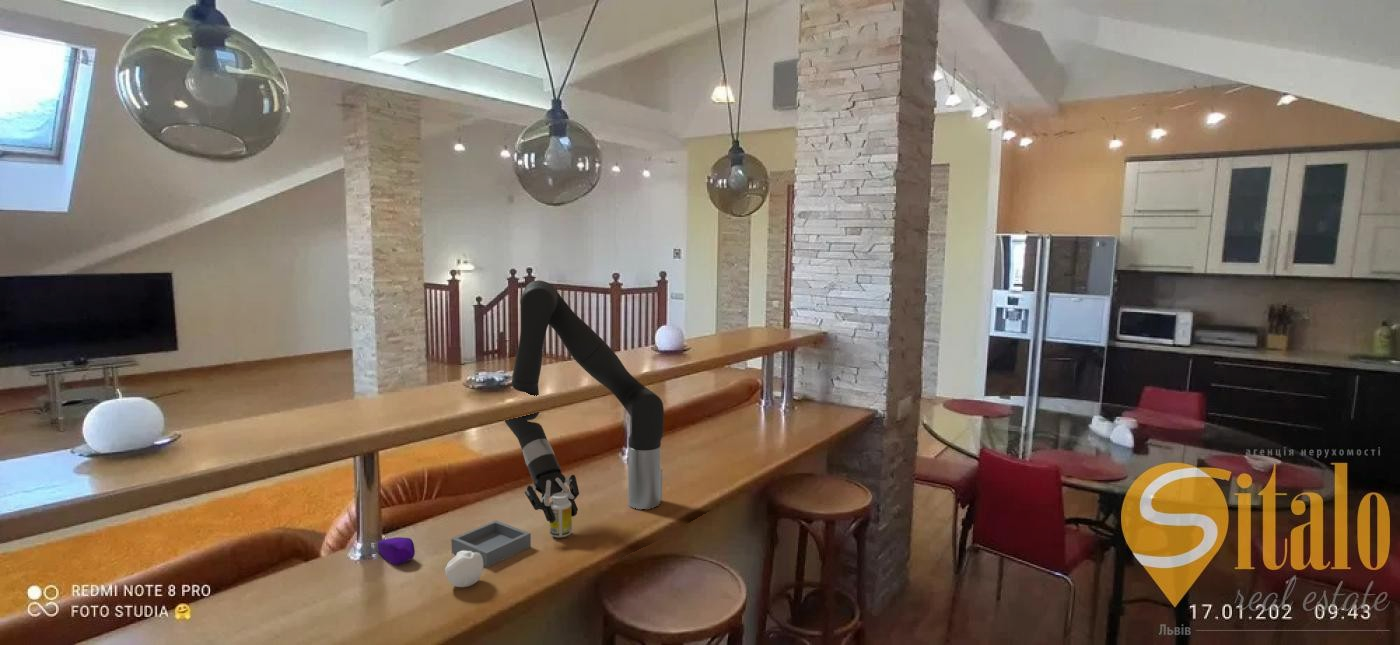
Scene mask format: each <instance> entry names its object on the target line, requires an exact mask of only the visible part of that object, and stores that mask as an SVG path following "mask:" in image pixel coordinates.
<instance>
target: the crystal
mask: <svg viewBox="0 0 1400 645" xmlns="http://www.w3.org/2000/svg"><path fill="white" fill-rule="evenodd" d="M377 542H378V548H377V550H378V549H379V551H378V552H379V554H380V555H381V556H382V558H383V559H385V561H387V562H388V563H390V564H392V565H395V566H396V565H398V566H399V565H400V564H404V563H407V562H408V561H410V560H412V559H414V557H415V554H416V553H415V552H416V550H415V543H414V542H413V539H412V538H409V537H398V536H397V537H390V538H385V539H382V540H378V541H377Z"/></svg>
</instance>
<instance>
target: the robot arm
mask: <svg viewBox="0 0 1400 645" xmlns="http://www.w3.org/2000/svg"><path fill="white" fill-rule="evenodd" d="M519 301H520V303H519V304H520V335H519V342H518V345H517V347H518V348H517V350H516V354H515V359H514V360H515V361H514V366H513V372H512V378H511V386H512V388H513V389H514V390H516V391H518V392H521V393H522V392H523V393H525V392H526V393H528V394H530V395H534V396H535V395H536V396H537V395H539V396H540V392H539V382H540V375H541V370H542V363H543V352H544V343H545V337H546V334H547V329H548V326H550V327H551V328H552V329H553V330H554V332H555V333H556V335H557V336H558V337H559V339H560V340H561V342H562V345H564V346H565V348H566V350H567V351H568V352H569V355H570V356H571V357H572V359H573V360H575V362H576V363H577V364H578V365H579V366H580V367H581V368H582V369H583V370H584V371H585V372H586V373H588V374H589V375H590V376H591V378H593V379H595V380H596V381H597V382H598V383H600V384H601V385H602V386H604V387H605V388H606V389H607V390H609V391H610V392H611V393H612V394H613V396H615V398H617V400H618V401H619V402H620V404H621V405H622V407H624V408H625V410H626V413H628V414H629V416H630V417H631V433H630V434H629V436H628V442H627V443H628V444H627V445H628V446H627V447H628V450H627V451H628V456H627V457H628V463H627V464H628V469H627V470H628V472H627V474H628V477H627V479H628V483H627V484H628V487H627V488H628V491H627V492H628V494H627V495H628V496H627V498H628V499H627V503H628V506H629V507H630V508H631V509H635V508H636V510H642V509H645V510H650V509H649V508H652V509H655V508H654V507H656V506H658V505H659V504H661V502H662V501H663V469H662V468H661V465H662V464H661V463H662V460H661V459H662V458H661V457H662V456H661V454H662V453H661V452H662V451H661V450H662V447H661V445H662V443H661V442H662V438H663V435H664V419H665V418H664V417H665V415H664V414H665V410H664V407H665V406H664V403H663V401H662V399H661V398H660V396H658V395H657V394H656V393H654V392H653V391H652V390H650V389H649V388H647V387H646V386H644V385H643V384H642V383H641V382H640V381H638V380H637V379H636V377H634V376H633V375H632V374H631V373H630V372H629V371H628V369H627V368H626V367H625V366H624V364H623V362H622V361H621V360H620V358H619V357H618V355H617V354H616V353H615V352H614V350H613V349H612V348H611V347H610V345H608V344H607V342H605V341H604V340H603V338H601V337H600V336H599V335H598V334H597V333H596V332H595V331H594V330H593V329H592V328H591V327H590V326H589V325H588V324H587V323H586V322H585V321H584V320H582V319H581V318H580V317H579V316H578V315H577V314H576V313H575V312H574V311H573V310H572V308H571V307H570V306H569V305H568V303H567V302H566V301H565V299H564V298H563V297H562V296H561V295H560V293H559V292H558V291H557V289H556V287H555V286H553V285H552V284H551V283H549V282H547V281H545V280H533V281H531V282H529V283H528V284H527V285H526V286H525V288H524V289H523V292H522V294H521V296H520V300H519ZM539 414H540V412H537V413H534V414H530V415H526V416H522V417H518V418H513V419H509V420H505V421H504V420H503V421H504V423H505V424H506V426H508V428H509V429H510V430H511V432H512V433H513V434H514V435H515V437H516V438H517V440H518V443H519V445H520V448H521V450H522V454H523V458H524V463H525V464H526V467H527V469H528V472H529V475H530V477H531V479H532V481H533V484H532V485H528V486H527V487H526V489H524V494H525V496H526V497H527V499H528V500H529V503H530V504H531V506H532V507H533V509H534V510H535V511H538V510H541V511H543V514H544V516H545V519H546V521H547V522H548V523H549V524H550V523H553V522H554V521H555V516H554V514H553V511H552V509H551V506H549V504H550V498H552V495H553V494H555V493H560V492H563V493H567V494H568V500H569V501H570V502H571V508H572V518H573V517H576V515H577V514H578V511H579V510H578V506H577V504H576V502H575V500H576V499H577V497H578V496H579V495H580V490H579V486H578V482H577V478H576V475H575V474H571V475H570V476H565V475H564V474H563V473H562V470H561V466H560V465H559V461H558V460H557V457H556V455H555V452H554V449H553V448H552V446H551V444H550V443H549V441H548V437H547V435H546V433H545V430H544V428H543V427H542V424H540V423H538V422H536V421H535V422H534V421H533V420H535V419H536V418H537V417H538V416H539ZM565 483H566V485H567V486H568V487H569V488H568V487H567V486H566V485H565ZM537 492H538V493H540V494H541V497H540V498H541V500H540V498H539V496H538V494H537ZM661 500H662V501H661ZM660 501H661V502H660ZM659 506H660V505H659ZM659 506H658V507H659ZM656 508H657V507H656Z"/></svg>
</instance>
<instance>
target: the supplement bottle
mask: <svg viewBox="0 0 1400 645" xmlns="http://www.w3.org/2000/svg"><path fill="white" fill-rule="evenodd" d="M549 506H551V509H552V511H553V514H554V516H555V521H554V522H553V523H550V522H549V534H550V535H551V537H553V538H565V537H568V536H570V535H571V534H572V532H573V520H572V519H573V517H572V508H571V502H570V501H569V500H568V494H567V493H563V491H562V492H560V493H555V494H553V495H552V496H551V502H549Z"/></svg>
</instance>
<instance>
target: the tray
mask: <svg viewBox="0 0 1400 645" xmlns="http://www.w3.org/2000/svg"><path fill="white" fill-rule="evenodd" d="M531 534H532V533H531V532H528V531H525V530H522V529H520V528H518V527H515V526H512V525H509V524H507V523H504V522H501V521H499V520H496V519H495V520H493V521H491V522H488V523H486V524H484V525H480V526H479V527H476V528H474V529H471V530H469V531H467V532H464V533H462V534H460V535H456V536H454V537H452V538H451V539H450V540H451V541H450V542H451V553H452V554H454V555H456V554H457V552H459V551H472V552H473V553H474V552H478V553H480V555H481V556H482V558H483V568H486V567H488V568H490V567H492V566H494V565H496V564H497V562H498V563H500V562H502V561H504V560H506V559H508V558H507V557H509V558H511V557H513V556H514V555H517V554H519V553H521V552H523V551H525V550H527V549H529V548H531V545H532V544H531V542H532V540H531V539H532V538H531V537H532V536H531ZM516 553H517V554H516ZM512 555H513V556H512ZM510 556H511V557H510ZM503 559H504V560H503ZM501 560H502V561H501ZM499 561H500V562H499ZM495 563H496V564H495ZM491 565H492V566H491ZM489 566H490V567H489Z"/></svg>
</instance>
